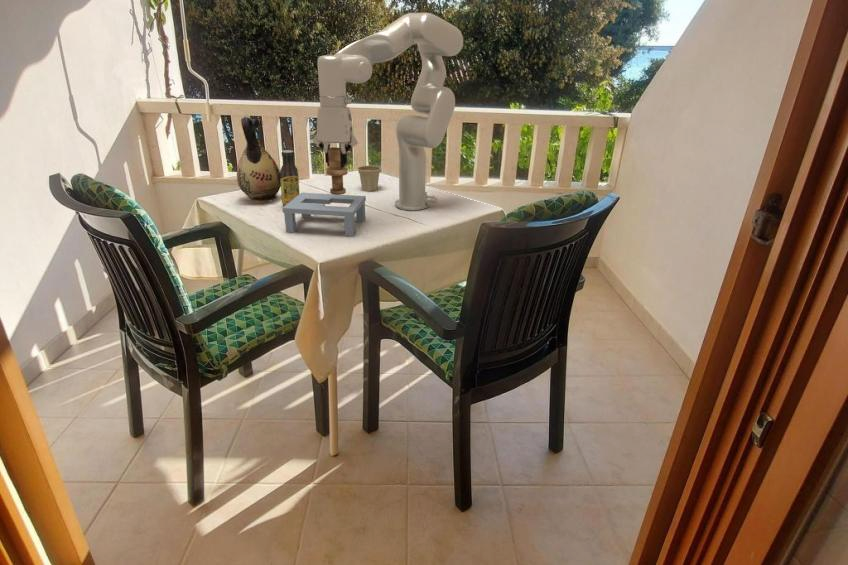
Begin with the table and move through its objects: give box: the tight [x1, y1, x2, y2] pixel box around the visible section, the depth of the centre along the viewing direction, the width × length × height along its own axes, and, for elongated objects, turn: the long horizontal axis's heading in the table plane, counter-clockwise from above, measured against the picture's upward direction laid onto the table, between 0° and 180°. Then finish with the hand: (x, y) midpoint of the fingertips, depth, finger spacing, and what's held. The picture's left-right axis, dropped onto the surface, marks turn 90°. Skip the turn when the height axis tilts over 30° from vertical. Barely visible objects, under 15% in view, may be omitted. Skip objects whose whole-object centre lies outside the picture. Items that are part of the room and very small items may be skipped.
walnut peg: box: [325, 146, 348, 195], centre depth 151 cm, size 6×6×14 cm
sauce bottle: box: [279, 149, 301, 208], centre depth 172 cm, size 6×6×20 cm
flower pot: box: [356, 165, 382, 192], centre depth 197 cm, size 9×9×9 cm
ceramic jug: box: [236, 116, 281, 204], centre depth 176 cm, size 17×15×30 cm
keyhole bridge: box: [281, 192, 367, 238], centre depth 158 cm, size 17×22×8 cm
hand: (336, 165), depth 150 cm, fingers closed on walnut peg, 3 cm apart
